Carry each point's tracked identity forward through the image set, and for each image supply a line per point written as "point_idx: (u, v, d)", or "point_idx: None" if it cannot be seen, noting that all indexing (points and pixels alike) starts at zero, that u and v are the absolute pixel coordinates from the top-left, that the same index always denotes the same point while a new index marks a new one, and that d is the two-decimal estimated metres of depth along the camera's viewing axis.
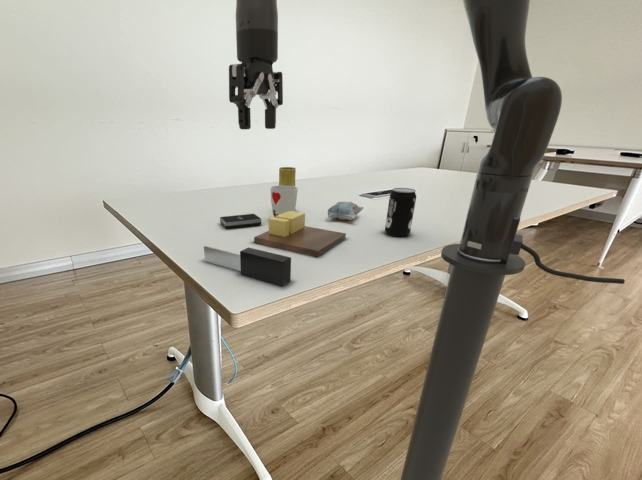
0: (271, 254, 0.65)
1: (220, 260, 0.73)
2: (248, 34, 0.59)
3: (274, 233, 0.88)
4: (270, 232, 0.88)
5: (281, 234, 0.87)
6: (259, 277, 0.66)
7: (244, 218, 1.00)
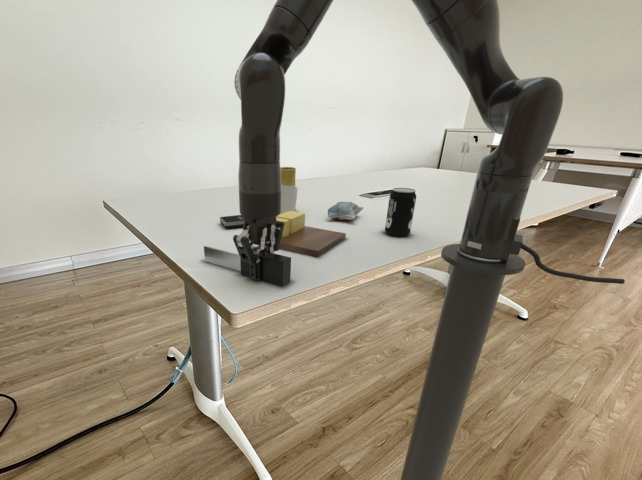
0: (271, 254, 0.65)
1: (220, 260, 0.73)
2: (251, 198, 0.58)
3: None
4: None
5: None
6: None
7: None
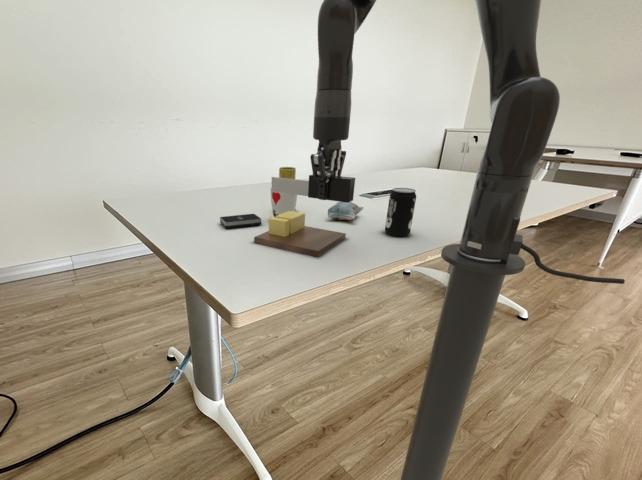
0: (337, 176, 0.76)
1: (287, 188, 0.84)
2: (327, 121, 0.69)
3: (274, 233, 0.88)
4: (270, 232, 0.88)
5: (281, 234, 0.87)
6: None
7: (244, 218, 1.00)
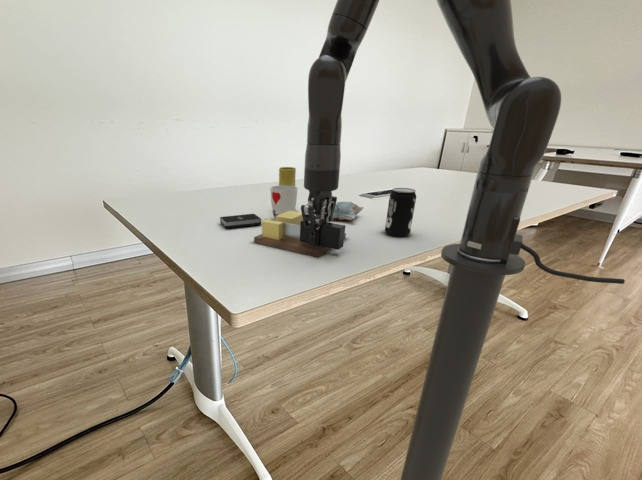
0: (328, 223, 0.78)
1: None
2: (317, 174, 0.71)
3: (268, 236, 0.85)
4: (263, 235, 0.86)
5: (275, 237, 0.84)
6: None
7: (244, 218, 1.00)
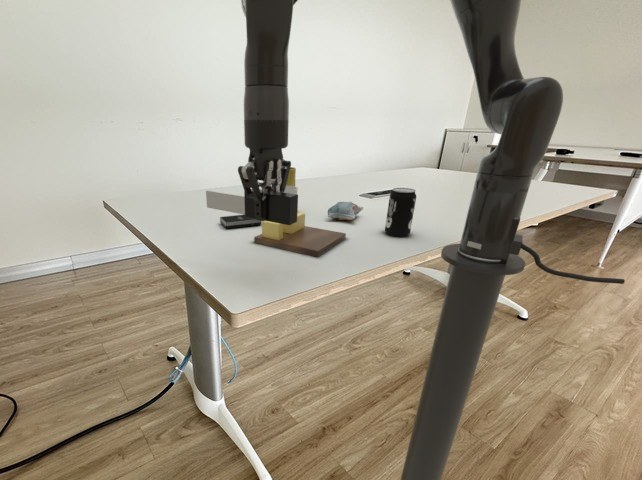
0: (277, 192, 0.62)
1: (223, 204, 0.69)
2: (257, 125, 0.55)
3: (267, 236, 0.85)
4: (263, 235, 0.86)
5: (275, 237, 0.84)
6: None
7: (244, 218, 1.00)
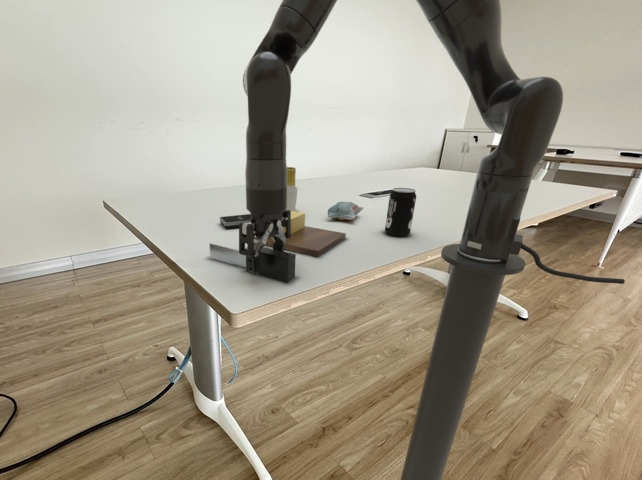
0: (276, 251, 0.67)
1: (226, 257, 0.74)
2: (258, 194, 0.60)
3: None
4: None
5: None
6: (264, 273, 0.68)
7: (244, 218, 1.00)
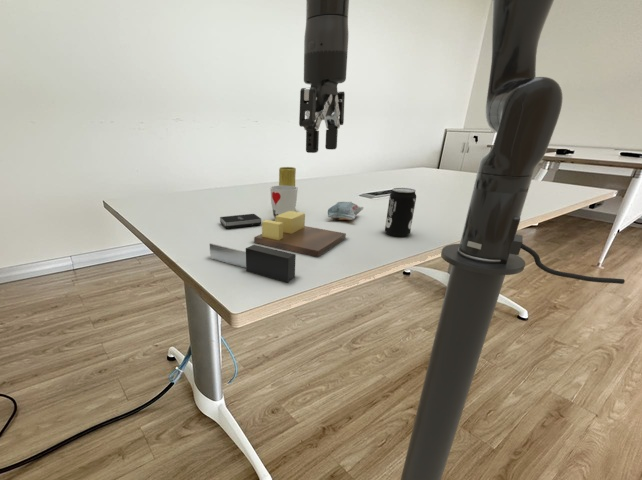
0: (276, 251, 0.67)
1: (226, 257, 0.74)
2: (320, 56, 0.57)
3: (267, 236, 0.85)
4: (263, 235, 0.86)
5: (275, 237, 0.84)
6: (264, 273, 0.68)
7: (244, 218, 1.00)
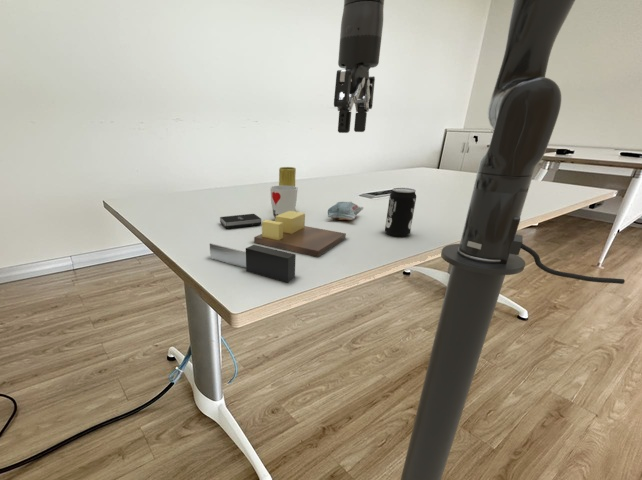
0: (276, 251, 0.67)
1: (226, 257, 0.74)
2: (356, 40, 0.61)
3: (267, 236, 0.85)
4: (263, 235, 0.86)
5: (275, 237, 0.84)
6: (264, 273, 0.68)
7: (244, 218, 1.00)
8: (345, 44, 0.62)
